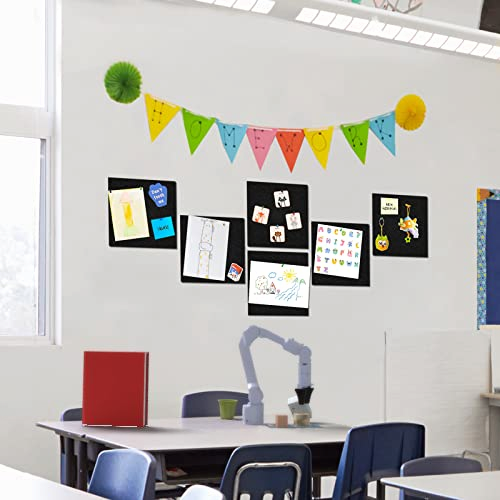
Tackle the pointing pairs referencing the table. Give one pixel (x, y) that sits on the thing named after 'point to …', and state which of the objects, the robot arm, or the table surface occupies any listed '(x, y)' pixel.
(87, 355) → the book
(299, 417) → the maple base block
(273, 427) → the blueprint mat
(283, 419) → the terracotta block
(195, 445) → the table surface
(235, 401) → the plant pot
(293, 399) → the small box
